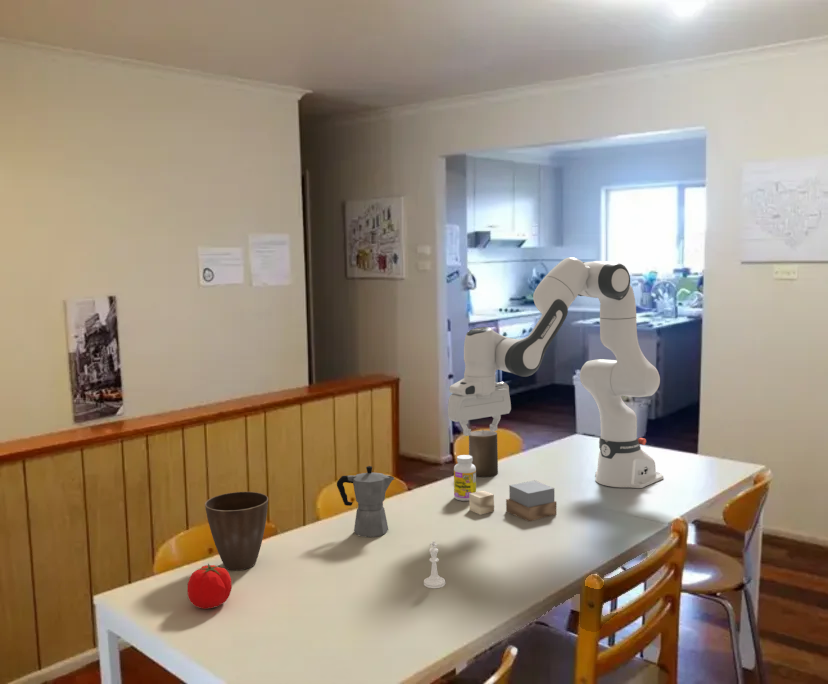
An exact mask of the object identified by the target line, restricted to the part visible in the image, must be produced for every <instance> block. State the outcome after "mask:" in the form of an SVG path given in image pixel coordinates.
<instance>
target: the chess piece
mask: <svg viewBox="0 0 828 684" xmlns="http://www.w3.org/2000/svg"><path fill="white" fill-rule="evenodd" d="M429 546H432V547H430V548H429V553H430V556H431V557H430V558H429V560H428V561H429V562H431V570H430V575H429V577H426V578H424V580H423V586H424V587H426V588H428V589H440V588H443V587H445V586H446V584H447V583H446V580H445V578H443V577H442V576H440V575H439V572H438V566H437V563H438V562H439V560H440V559H439V558H438V557H437V556H438V553H439V549H438V543H436V540H432V541H431V542H430V543H429Z"/></svg>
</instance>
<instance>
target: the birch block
mask: <svg viewBox="0 0 828 684" xmlns="http://www.w3.org/2000/svg"><path fill="white" fill-rule="evenodd" d="M468 502H469V503H468V504H469V511H471V512H473V513H476V514H477V515H479V516H480V515H484V514H490V513H493V512H495V495H494V494H493V493H491V492H488V491H486V490H478V491H476V492H474V493H470V494H469V501H468Z"/></svg>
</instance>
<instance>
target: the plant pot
mask: <svg viewBox="0 0 828 684" xmlns="http://www.w3.org/2000/svg"><path fill="white" fill-rule="evenodd" d="M268 504H269V497H268V496H267V495H266V494H264V493H260V492H255V491H236V492H235V491H234V492H229V493H222V494H220V495H215V496H212V497H211V498H208V499H207V500H206V501H205V503H204V508H205V511H206V518H207V521H208V522H207V523H208V526H209V529H210V533H211V536H212V539H213V542H214V545H215V548H216V550H217V552H218V556H219V557H220V559H221V562H222V564H223V566H224V567H225V569H226V570H231V571H243V570H247V569H250V568H252V567H253V566H255V565H256V563H257V560H258V557H259V553H260V551H261V547H262V542H263V539H264V534H265V529H266V523H267V522H266V521H267V517H268V516H267V515H268V507H269V506H268Z"/></svg>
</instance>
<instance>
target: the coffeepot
mask: <svg viewBox="0 0 828 684" xmlns="http://www.w3.org/2000/svg"><path fill="white" fill-rule="evenodd" d="M365 468H366V472H362V473H357V474H356V475H354V474H353V475H342V476H340V477H339V479H338V480H337V482H336V487H337V489H338V491H339V494H340V496H341V499H342V502H343V504H344V505H345V506H348V507H349V506H350V507H351V506H352V505H353V503H354V502H352V501H348V495H347V492H346V489H345V486H344V483H346V484H347V483H348V484H353V490H354V495H355V502H356V503H357V506H358V507H357V508H356V515H355V521H354V529H353V531H354V534H356V535H357V536H359V537H362V538H377V537H381V536H384V535H385V534H386V533H387V532H388V531H389V525H388V520H387V515H386V512H385V508H384V501H385V499H386V492H387V489H388V488H389V486H390V485H391V483H392V482H393V481H394V480H395V478H394V476H392V475H389V474H388V475H387V474H384V473H382V472H373V466H370V465H368V466H366V467H365Z"/></svg>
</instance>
